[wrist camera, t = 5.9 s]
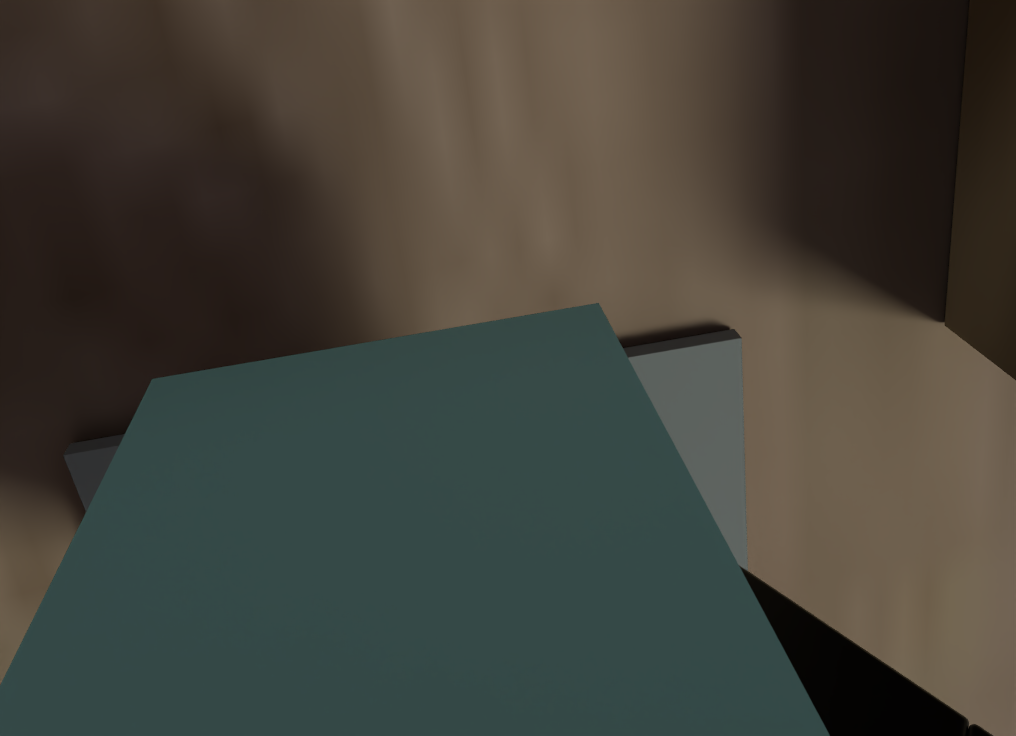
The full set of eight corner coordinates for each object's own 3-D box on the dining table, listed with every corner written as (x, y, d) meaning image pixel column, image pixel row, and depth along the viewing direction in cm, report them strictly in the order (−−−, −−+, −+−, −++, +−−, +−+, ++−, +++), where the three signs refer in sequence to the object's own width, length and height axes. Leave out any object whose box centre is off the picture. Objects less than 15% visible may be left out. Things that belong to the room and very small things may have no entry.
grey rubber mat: (748, 785, 17) (754, 799, 17) (243, 882, 17) (241, 898, 17) (733, 329, 13) (741, 337, 13) (70, 443, 13) (63, 455, 13)
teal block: (633, 643, 12) (841, 1267, 6) (263, 712, 12) (156, 1414, 6) (598, 303, 10) (859, 789, 4) (153, 379, 10) (-148, 986, 4)
